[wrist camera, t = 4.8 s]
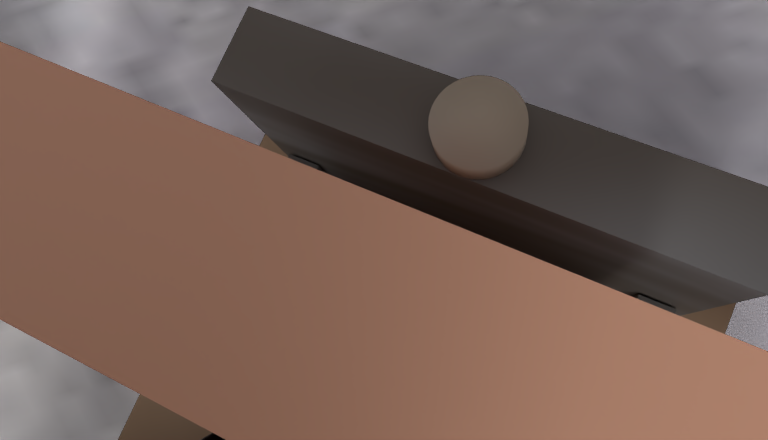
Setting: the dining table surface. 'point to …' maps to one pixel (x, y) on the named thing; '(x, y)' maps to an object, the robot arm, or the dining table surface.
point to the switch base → (494, 175)
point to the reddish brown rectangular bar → (320, 294)
